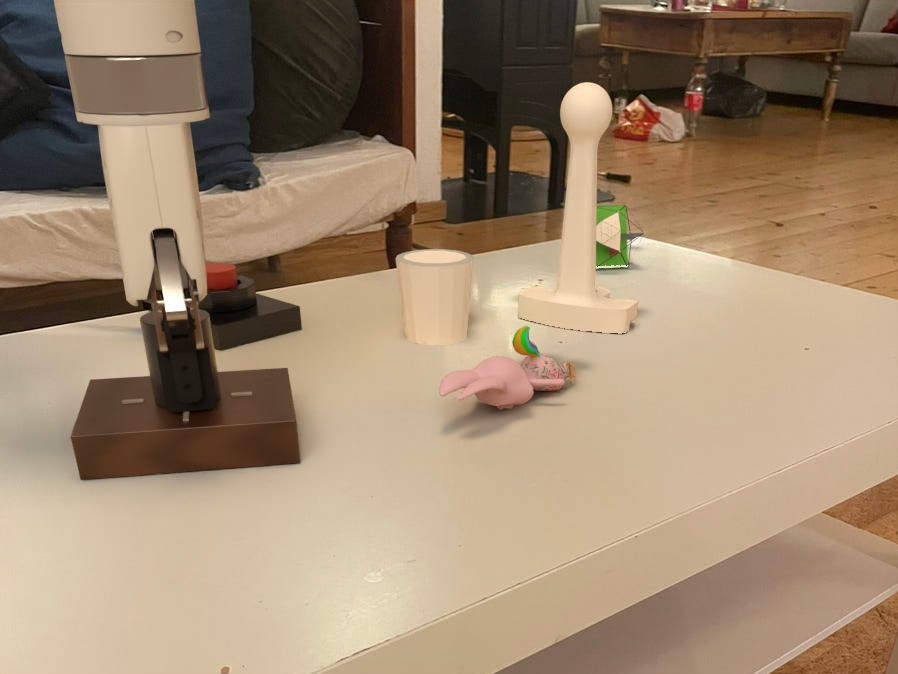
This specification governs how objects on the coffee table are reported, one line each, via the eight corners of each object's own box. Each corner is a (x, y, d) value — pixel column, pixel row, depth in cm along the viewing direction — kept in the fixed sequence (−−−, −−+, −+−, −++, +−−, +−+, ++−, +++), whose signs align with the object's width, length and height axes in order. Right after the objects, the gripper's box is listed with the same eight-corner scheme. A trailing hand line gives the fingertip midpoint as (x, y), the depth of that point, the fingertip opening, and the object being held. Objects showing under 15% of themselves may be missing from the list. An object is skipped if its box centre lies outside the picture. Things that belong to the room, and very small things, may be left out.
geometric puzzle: (566, 238, 116) (581, 186, 108) (622, 236, 117) (641, 184, 109) (578, 288, 113) (595, 238, 106) (635, 285, 114) (655, 236, 107)
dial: (232, 399, 67) (220, 313, 64) (172, 414, 65) (156, 325, 62) (202, 383, 70) (189, 299, 67) (143, 396, 68) (127, 310, 64)
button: (190, 287, 90) (186, 267, 89) (223, 280, 92) (220, 261, 91) (212, 294, 88) (210, 274, 87) (246, 287, 90) (243, 267, 89)
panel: (80, 480, 63) (69, 433, 62) (98, 419, 72) (89, 377, 71) (300, 463, 66) (296, 417, 64) (291, 406, 75) (287, 365, 73)
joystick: (511, 320, 95) (517, 81, 84) (545, 302, 100) (554, 75, 89) (619, 337, 90) (640, 87, 79) (648, 317, 96) (672, 81, 85)
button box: (145, 324, 93) (138, 280, 90) (226, 306, 98) (220, 264, 96) (220, 351, 86) (214, 304, 84) (302, 330, 91) (298, 285, 89)
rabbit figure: (524, 389, 82) (412, 411, 71) (533, 314, 80) (418, 325, 68) (589, 405, 79) (483, 431, 68) (601, 328, 77) (492, 342, 65)
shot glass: (441, 352, 86) (440, 269, 82) (382, 338, 89) (379, 257, 86) (488, 334, 91) (489, 254, 87) (431, 321, 94) (429, 244, 90)
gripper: (77, 82, 63) (131, 363, 73) (64, 106, 50) (133, 448, 60) (197, 79, 65) (234, 355, 75) (217, 102, 51) (259, 435, 61)
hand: (189, 393), depth 67 cm, fingers open, 4 cm apart
